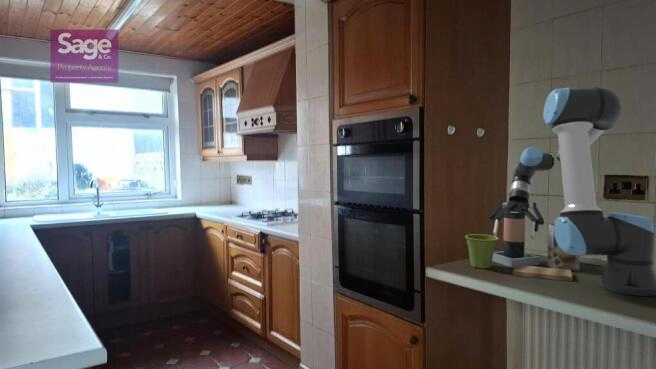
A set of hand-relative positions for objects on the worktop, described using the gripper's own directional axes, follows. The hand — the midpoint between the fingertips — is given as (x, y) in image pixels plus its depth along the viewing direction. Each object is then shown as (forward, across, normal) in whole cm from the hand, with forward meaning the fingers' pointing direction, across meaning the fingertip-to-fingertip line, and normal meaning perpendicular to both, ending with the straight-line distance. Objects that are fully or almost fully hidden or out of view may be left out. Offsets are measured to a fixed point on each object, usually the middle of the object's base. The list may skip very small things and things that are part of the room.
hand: (513, 236), depth 167 cm
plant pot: (+16, +9, +1) cm, 19 cm away
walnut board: (+17, -11, +2) cm, 21 cm away
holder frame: (+7, 0, -8) cm, 10 cm away
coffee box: (+7, -17, -8) cm, 20 cm away
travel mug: (+7, 0, -8) cm, 11 cm away
